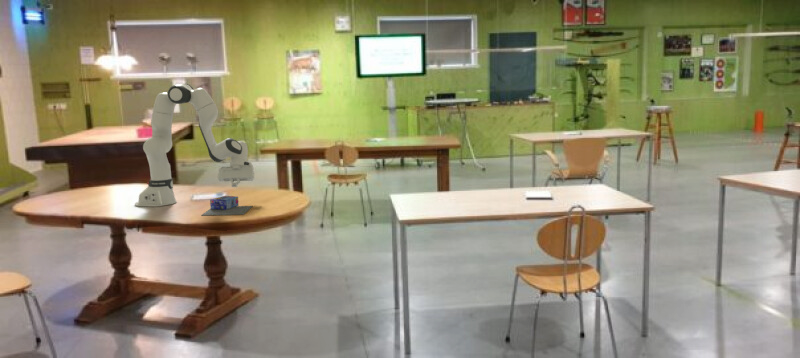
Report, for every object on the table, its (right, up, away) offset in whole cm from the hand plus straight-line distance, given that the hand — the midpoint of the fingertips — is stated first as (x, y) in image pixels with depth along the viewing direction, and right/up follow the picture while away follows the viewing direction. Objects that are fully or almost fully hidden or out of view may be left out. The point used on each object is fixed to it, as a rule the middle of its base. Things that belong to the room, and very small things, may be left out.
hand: (234, 186), depth 358 cm
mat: (0, -13, -15) cm, 20 cm away
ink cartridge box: (-1, -8, -2) cm, 8 cm away
